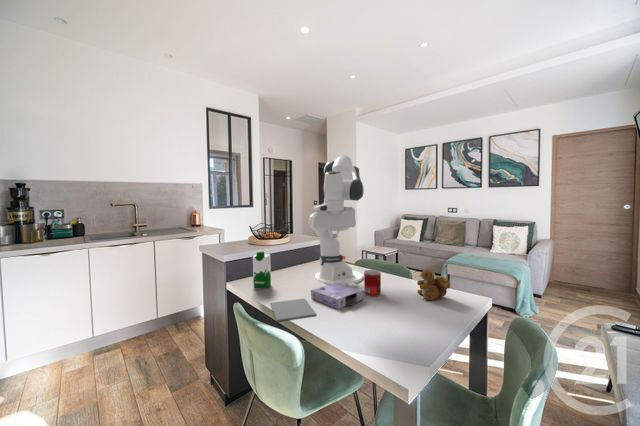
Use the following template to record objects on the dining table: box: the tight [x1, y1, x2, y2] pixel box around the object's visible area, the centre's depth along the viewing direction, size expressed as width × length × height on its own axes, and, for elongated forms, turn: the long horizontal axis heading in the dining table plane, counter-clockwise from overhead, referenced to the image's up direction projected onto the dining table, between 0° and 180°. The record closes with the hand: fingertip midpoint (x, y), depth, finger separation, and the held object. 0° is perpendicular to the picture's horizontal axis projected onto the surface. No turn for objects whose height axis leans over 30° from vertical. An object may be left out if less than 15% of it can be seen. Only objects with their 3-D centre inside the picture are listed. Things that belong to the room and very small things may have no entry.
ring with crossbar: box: [315, 270, 363, 288], centre depth 160 cm, size 28×28×5 cm
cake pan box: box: [310, 283, 365, 310], centre depth 125 cm, size 19×5×18 cm
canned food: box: [363, 269, 382, 297], centre depth 133 cm, size 8×8×11 cm
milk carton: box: [252, 251, 272, 289], centre depth 144 cm, size 9×9×20 cm
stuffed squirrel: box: [416, 268, 451, 301], centre depth 127 cm, size 10×14×13 cm
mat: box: [270, 298, 317, 322], centre depth 114 cm, size 16×19×1 cm
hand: (334, 237), depth 120 cm, fingers closed
